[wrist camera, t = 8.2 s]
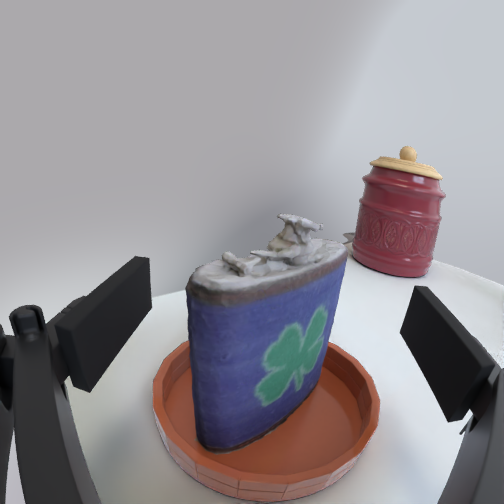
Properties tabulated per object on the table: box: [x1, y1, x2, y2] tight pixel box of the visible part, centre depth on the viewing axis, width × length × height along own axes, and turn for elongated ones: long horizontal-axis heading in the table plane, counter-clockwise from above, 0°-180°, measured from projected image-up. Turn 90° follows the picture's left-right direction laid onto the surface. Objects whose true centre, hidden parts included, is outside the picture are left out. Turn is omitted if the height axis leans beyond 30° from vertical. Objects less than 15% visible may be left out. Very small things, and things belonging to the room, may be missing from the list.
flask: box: [185, 214, 348, 455], centre depth 13 cm, size 9×3×11 cm, turn 136°
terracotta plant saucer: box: [153, 340, 380, 502], centre depth 15 cm, size 12×12×2 cm
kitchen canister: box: [352, 146, 446, 277], centre depth 40 cm, size 13×13×18 cm
